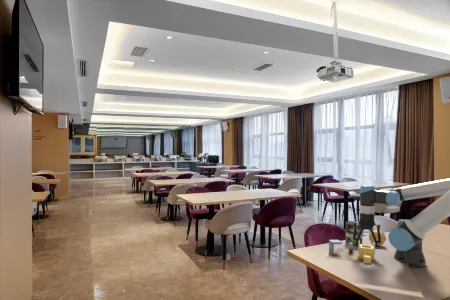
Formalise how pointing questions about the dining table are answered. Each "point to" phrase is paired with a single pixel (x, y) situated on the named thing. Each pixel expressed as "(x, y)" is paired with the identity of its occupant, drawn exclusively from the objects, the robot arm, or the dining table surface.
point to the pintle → (350, 247)
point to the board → (347, 255)
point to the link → (366, 253)
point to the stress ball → (377, 237)
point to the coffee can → (350, 233)
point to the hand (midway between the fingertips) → (366, 253)
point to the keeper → (331, 245)
